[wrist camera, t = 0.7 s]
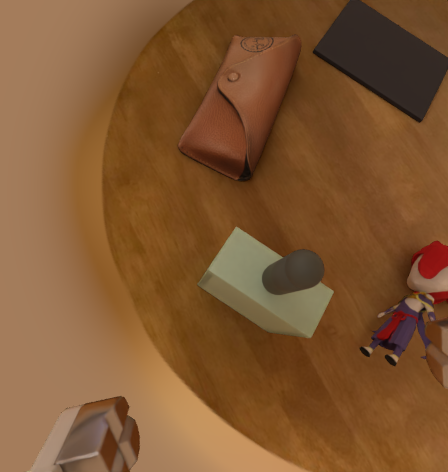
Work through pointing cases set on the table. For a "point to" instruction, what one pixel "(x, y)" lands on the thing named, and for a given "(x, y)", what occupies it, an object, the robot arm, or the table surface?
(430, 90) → the mat
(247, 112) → the sunglasses case
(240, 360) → the table surface
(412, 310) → the figurine
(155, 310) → the table surface
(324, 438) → the table surface
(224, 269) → the green flask block
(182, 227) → the table surface
